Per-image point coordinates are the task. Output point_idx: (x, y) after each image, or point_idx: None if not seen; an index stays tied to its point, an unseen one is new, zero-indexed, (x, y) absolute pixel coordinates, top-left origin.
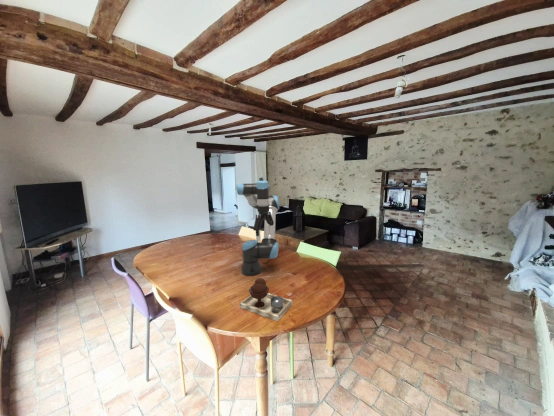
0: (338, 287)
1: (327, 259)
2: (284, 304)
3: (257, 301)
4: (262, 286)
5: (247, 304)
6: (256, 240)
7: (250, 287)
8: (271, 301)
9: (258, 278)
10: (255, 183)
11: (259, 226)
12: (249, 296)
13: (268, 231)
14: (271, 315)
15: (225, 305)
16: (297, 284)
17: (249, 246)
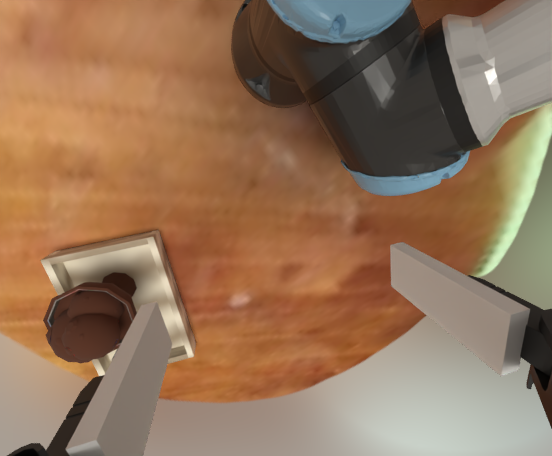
0: (350, 363)
1: (507, 246)
2: (179, 333)
3: (125, 268)
4: (79, 362)
5: (85, 257)
6: (141, 306)
7: (68, 291)
8: (112, 358)
9: (80, 339)
10: None
11: None
12: (99, 251)
13: (420, 268)
14: (95, 364)
15: (18, 192)
16: (302, 281)
17: (287, 8)
